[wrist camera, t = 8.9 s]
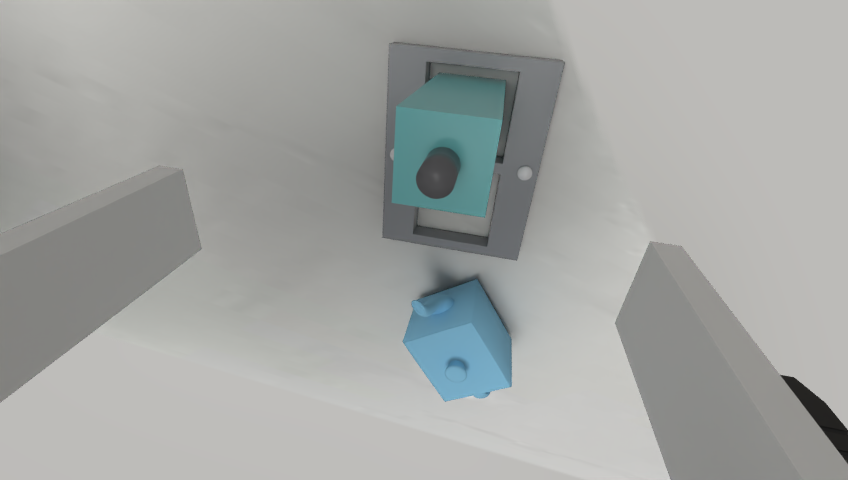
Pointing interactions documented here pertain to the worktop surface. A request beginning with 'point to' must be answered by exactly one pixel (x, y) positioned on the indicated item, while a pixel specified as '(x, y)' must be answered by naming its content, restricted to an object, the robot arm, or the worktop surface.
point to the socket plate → (514, 167)
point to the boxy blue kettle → (460, 342)
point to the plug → (448, 144)
